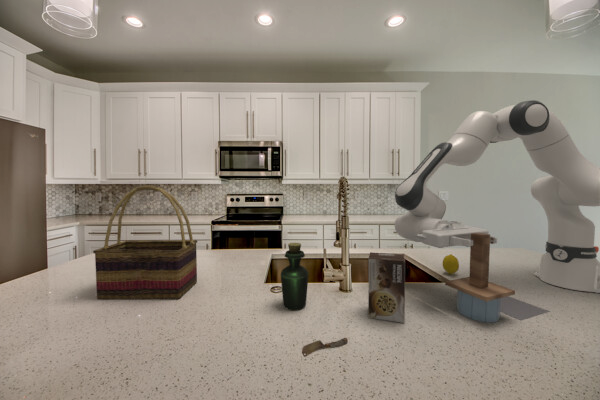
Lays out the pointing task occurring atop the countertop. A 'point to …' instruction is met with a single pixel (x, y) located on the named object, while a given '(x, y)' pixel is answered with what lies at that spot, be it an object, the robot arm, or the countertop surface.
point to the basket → (146, 262)
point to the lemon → (450, 264)
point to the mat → (519, 308)
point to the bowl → (478, 308)
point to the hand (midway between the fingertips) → (483, 242)
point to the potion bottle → (294, 279)
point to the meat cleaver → (321, 346)
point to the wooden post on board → (480, 273)
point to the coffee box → (386, 287)
